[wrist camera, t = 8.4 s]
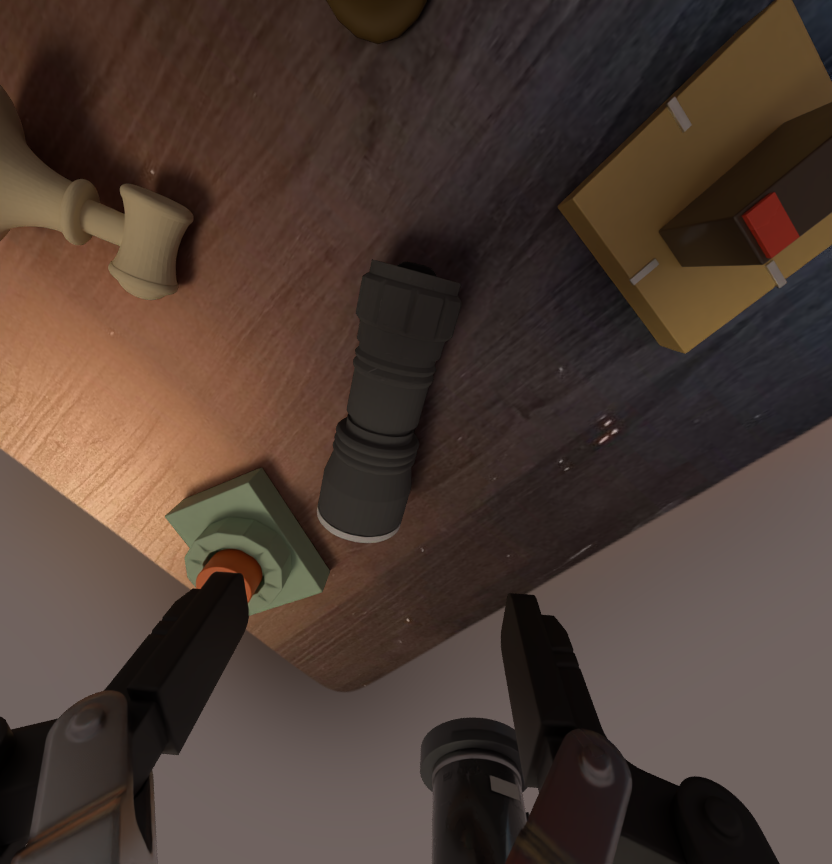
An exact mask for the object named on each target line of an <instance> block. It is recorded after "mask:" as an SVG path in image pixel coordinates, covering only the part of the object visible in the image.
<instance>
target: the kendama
mask: <svg viewBox="0 0 832 864" xmlns="http://www.w3.org/2000/svg"><path fill="white" fill-rule="evenodd" d="M326 1H327V2H328V4H329V6H330V7H331V9H332V11H333V12H334V14H335V16H336V18H337V19H338V21H340V22H341V23H342V24H343V25H344V26H345V27H346V28H347V29H348V30H350V31H351V32H352V33H353V34H354V35H355V36H356V37H358V38H361V39H364V40H367V41H370V42H373V43H376V44H380V43H383V42H386V41H389V40H392V39H395V38H398V37H400V36H401V35H402V34H403V33H404V32H405V31H406V30H407V29H408V28H409V27H410V26H411V25H412V24H413V23H414V22H415V21H417V19H418V17H419V15H420V13H421V12H422V10H423V8H424V6H425V4H426V2H427V0H326Z"/></svg>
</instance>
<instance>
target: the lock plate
mask: <svg viewBox="0 0 832 864" xmlns="http://www.w3.org/2000/svg"><path fill="white" fill-rule="evenodd" d="M830 102H832V81H831V79H830V77H829V75H828V73H827V71H826V69H825V67H824V65H823V63H822V61H821V59H820V57H819V55H818V53H817V50H816V48H815V46H814V44H813V42H812V40H811V38H810V36H809V34H808V32H807V30H806V28H805V26H804V24H803V22H802V20H801V18H800V16H799V14H798V11H797V9H796V7H795V5H794V3H793V1H792V0H775V1H773V2H772V3H771V4H770V5H768V6H767V7H766V8H765V9H763V10H762V11H761V12H760V13H758V14H757V15H756V16H755V17H753V18H752V19H751V20H750V21H749V22H747V23H746V24H745V25H744V26H742V27H741V28H740V29H739V30H738V31H737V32H736V33H735V34H734V35H733V36H732V37H731V38H730V39H729V40H728V41H727V42H726V43H725V44H724V45H723V46H722V47H721V48H720V49H718V50H717V51H716V52H715V53H714V54H713V55H712V56H711V57H710V58H709V59H708V60H707V61H706V62H705V63H704V64H703V65H702V66H701V67H700V68H699V69H698V70H697V71H696V72H695V73H694V74H693V75H692V76H691V77H690V78H689V79H688V80H687V81H686V82H685V83H684V84H683V85H681V86H680V87H679V88H678V89H677V90H676V91H675V92H674V93H673V94H672V95H671V96H670V97H669V98H668V99H667V100H666V101H665V102H664V103H663V104H662V105H661V106H660V107H659V108H658V109H657V110H656V111H655V112H654V113H653V114H652V115H651V116H650V117H649V118H648V119H647V120H646V121H644V122H643V123H642V124H641V125H640V126H639V127H638V128H637V129H636V130H635V131H634V132H633V133H632V134H631V135H630V136H629V137H628V138H627V139H626V140H625V141H624V142H623V143H622V144H621V145H620V146H619V147H618V148H617V149H616V150H615V151H614V152H613V153H612V154H611V155H610V156H609V157H607V158H606V159H605V160H604V161H603V162H602V163H601V164H600V165H599V166H598V167H597V168H596V169H595V170H594V171H593V172H592V173H591V174H590V175H589V176H588V177H587V178H586V179H585V180H584V181H583V182H582V183H581V184H580V185H579V186H578V187H577V188H576V189H575V190H574V191H573V192H572V193H571V194H569V195H568V196H567V197H566V198H565V199H564V200H563V201H562V202H561V203H560V204H559V205H558V209H559V210H560V211H561V213H562V214H563V215H564V217H565V218H566V219H567V221H568V222H569V223H570V225H571V226H572V227H573V229H574V230H575V231H576V233H577V234H578V236H579V237H580V238H581V240H582V241H583V242H584V244H585V245H586V246H587V248H588V249H589V250H590V252H591V253H592V254H593V256H594V257H595V258H596V260H597V261H598V262H599V264H600V265H601V266H602V268H603V269H604V271H605V272H606V273H607V275H608V276H609V277H610V279H611V280H612V281H613V283H614V284H615V285H616V287H617V288H618V289H619V291H620V292H621V293H622V295H623V296H624V297H625V299H626V300H627V302H628V303H629V304H630V306H631V307H632V308H633V310H634V311H635V312H636V314H637V315H638V316H639V318H640V319H641V320H642V322H643V323H644V324H645V326H646V327H647V328H648V330H649V331H650V332H651V334H652V335H653V337H654V338H655V339H656V341H657V342H658V343H659V345H660V346H663V347H666V348H669V349H672V350H675V351H678V352H681V353H687V352H688V351H690V350H691V349H692V348H694V347H695V346H696V345H698V344H699V343H700V342H702V341H703V340H704V339H706V338H707V337H708V336H710V335H711V334H712V333H714V332H715V331H716V330H718V329H719V328H720V327H722V326H723V325H725V324H726V323H727V322H729V321H730V320H731V319H733V318H734V317H735V316H737V315H738V314H739V313H741V312H742V311H743V310H745V309H746V308H747V307H749V306H750V305H751V304H753V303H754V302H755V301H757V300H758V299H759V298H761V297H762V296H763V295H765V294H766V293H767V292H769V291H770V290H771V289H773V288H774V287H775V286H777V288H781V287H782V286H783V285H785V284H786V283H787V282H786V280H785V279H786V278H788V277H789V276H790V275H792V274H793V273H794V272H796V271H797V270H798V269H800V268H801V267H802V266H804V265H805V264H806V263H808V262H809V261H810V260H812V259H813V258H814V257H816V256H817V255H818V254H820V253H821V252H822V251H824V250H825V249H826V248H828V247H829V246H830V245H832V213H831V214H829V215H828V216H827V217H825V218H824V219H823V220H821V221H820V222H819V223H817V224H816V225H815V226H814V227H812V228H811V229H810V230H808V231H807V232H806V233H804V234H803V235H802V236H800V237H799V238H798V239H797V240H795V241H794V242H793V243H791V244H790V245H789V246H787V247H786V248H785V249H783V250H782V251H781V252H780V253H778V254H777V255H776V256H774V257H773V258H772V259H770V260H769V261H768V262H766V263H765V264H764V265H748V266H706V267H682V266H681V265H680V263H679V262H678V260H677V259H676V257H675V256H674V254H673V253H672V251H671V250H670V248H669V247H668V245H667V244H666V242H665V241H664V239H663V238H662V236H661V235H660V234H659V230H660V229H661V228H662V227H663V226H665V225H666V224H667V223H668V222H669V221H670V220H672V219H673V218H674V217H675V216H676V215H677V214H679V213H680V212H681V211H682V210H683V209H684V208H686V207H687V206H688V205H689V204H690V203H691V202H692V201H694V200H695V199H696V198H697V197H698V196H699V195H701V194H702V193H703V192H704V191H705V190H706V189H708V188H709V187H710V186H711V185H712V184H713V183H715V182H716V181H717V180H718V179H719V178H720V177H722V176H723V175H724V174H725V173H726V172H727V171H729V170H730V169H731V168H732V167H733V166H734V165H735V164H737V163H738V162H739V161H740V160H741V159H742V158H744V157H745V156H746V155H747V154H748V153H749V152H751V151H752V150H753V149H754V148H755V147H756V146H758V145H759V144H760V143H761V142H762V141H763V140H765V139H766V138H767V137H768V136H769V135H770V134H771V133H773V132H774V131H775V130H776V129H777V128H778V127H780V126H781V125H782V124H783V123H784V122H787V121H789V120H791V119H793V118H796V117H798V116H800V115H803V114H805V113H807V112H810V111H812V110H814V109H817V108H819V107H821V106H823V105H826V104H828V103H830Z"/></svg>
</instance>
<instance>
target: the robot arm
mask: <svg viewBox="0 0 832 864" xmlns="http://www.w3.org/2000/svg"><path fill="white" fill-rule="evenodd" d="M248 618H249V607H248V601H247V595H246V589H245V582H244V577H243V575H242V574H241V573H232V572H218V571H216V572H214V573H213V574H211V576H210V577H209V578H208V580H207V581H206V582H205V584H204V585H203V586H202V588H201V589H194V588H193V589H192V590H190V591H189V592H188V593H186V594H185V595H184V596H182V597H181V598H180V599H178V600H177V601H176V602H175V603H174V604H173V605H172V606H171V608H170V609H169V610H168V611H167V613H166V614H165V615H164V616H163V619H162V621H159V623H158V624H157V625H156V626H155V628H154V629H153V630H152V633H151V634H149V635H148V636H147V638H146V639H145V640H144V642H143V643H142V644H141V645H140V647H139V648H138V649H137V650H136V652H135V653H134V654H133V655H132V657H131V658H130V659H129V660H128V661H127V663H126V664H125V665H124V666H123V668H122V669H121V670H120V671H119V673H118V674H117V675H116V676H115V678H114V679H113V680H112V682H111V683H110V684H109V685H108V686H107V688H106V689H105V690H104V691H102V692H98V693H95V694H92V695H90V696H88V697H86V698H84V699H82V700H80V701H78V702H77V703H75V704H74V705H73V706H71V707H70V708H69V709H68V710H66V711H65V712H64V713H63V714H62V715H61V716H60V717H59V718H58V719H54V720H50V721H46V722H41V723H37V724H33V725H29V726H25V727H20V728H16V729H12V730H11V729H10V727H9V725H8V724H7V722H6V720H5V719H3V718H2V717H0V864H158V859H157V841H156V821H155V802H154V782H153V772H152V769H153V767H154V766H155V763H156V762H157V760H158V759H159V757H160V755H161V754H172V755H179V753H180V751H181V749H182V747H183V746H184V743H185V742H186V740H187V738H188V736H189V734H190V732H191V731H192V729H193V726H194V725H195V723H196V721H197V719H198V718H199V716H200V714H201V712H202V710H203V708H204V706H205V705H206V703H207V701H208V699H209V697H210V695H211V693H212V691H213V690H214V688H215V686H216V684H217V682H218V680H219V679H220V677H221V675H222V673H223V671H224V669H225V667H226V665H227V663H228V662H229V660H230V658H231V656H232V654H233V653H234V651H235V649H236V647H237V645H238V643H239V641H240V640H241V638H242V635H243V634H244V632H245V629H246V627H247V623H248ZM501 650H502V657H503V663H504V668H505V675H506V680H507V686H508V692H509V698H510V704H511V709H512V715H513V721H514V727H515V733H516V738H517V744H518V750H519V756H520V762H521V768H522V773H523V779H524V785H525V787H534V788H535V787H536V788H538V790H539V795H538V797H537V799H536V802H535V804H534V806H533V809H532V811H531V813H530V815H529V813H528V812H527V813H526V812H525V806H524V800H523V794H522V781H521V775H520V770H519V768H518V766H517V765H516V764H515V762H513V761H512V760H511V759H510V758H508V757H507V756H505V755H503V754H501V753H498V752H495V751H492V750H487V749H477V748H471V749H462V750H457V751H454V752H451V753H448V754H446V755H444V756H443V757H441V758H440V759H439V760H438V761H437V762H436V763H435V765H434V766H433V769H432V787H433V817H432V864H779V862H778V860H777V858H776V856H775V855H774V853H773V851H772V849H771V847H770V845H769V843H768V842H767V840H766V838H765V836H764V834H763V832H762V830H761V829H760V827H759V825H758V823H757V822H756V820H755V818H754V817H753V816H752V814H751V813H750V812H749V810H748V809H747V808H746V807H745V806H744V804H743V803H742V802H741V801H740V800H739V799H738V798H736V796H734V795H733V794H732V793H731V792H730V791H728V790H727V789H726V788H724V787H723V786H721V785H720V784H718V783H716V782H714V781H712V780H709V779H707V778H702V777H695V776H694V777H689V778H686V779H685V780H684V781H682V782H681V784H680V786H678V785H675V784H673V783H671V782H668V781H666V780H664V779H661V778H659V777H656V776H654V775H652V774H650V773H647V772H645V771H643V770H641V769H639V768H637V767H636V766H634V765H633V764H631V763H630V762H628V761H627V760H626V759H625V758H624V757H623V756H622V754H621V753H620V751H619V750H618V749H617V748H616V747H615V745H614V744H612V743H611V742H610V741H609V740H608V739H607V737H606V736H605V734H604V732H603V729H602V727H601V725H600V722H599V719H598V716H597V713H596V711H595V708H594V705H593V702H592V700H591V697H590V694H589V692H588V689H587V686H586V683H585V680H584V678H583V675H582V672H581V670H580V669H579V664H578V661H577V658H576V656H575V654H574V653H573V648H572V645H571V642H570V639H569V637H568V634H567V632H566V630H565V629H564V628H563V626H562V625H561V624H560V623H559V622H558V620H557V619H556V618H555V617H554V616H550V615H541V612H540V609H539V605H538V602H537V599H536V597H535V596H534V595H527V594H513V593H509V594H508V596H507V601H506V607H505V612H504V618H503V624H502V630H501ZM26 844H27V845H26Z"/></svg>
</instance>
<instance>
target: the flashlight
mask: <svg viewBox="0 0 832 864" xmlns="http://www.w3.org/2000/svg"><path fill="white" fill-rule="evenodd" d="M460 285H461V284H460V283H456V282H453V281H449V280H446V279H442V278H438V277H437V276H436V274H435V272H434V271H433V270H432V269H431V268H429V267H426V266H424V265H420V264H416V263H412V262H402V263H400V264H399V265H397V266H395V265H391V264H388V263H384V262H380V261H377V260H373V259H372V262H371V267H370V272H368V273H366V274H365V275H363V277H362V282H361V288H360V293H359V298H358V304H357V309H356V314H357V316H358V317H359V319H360V324H359V330H358V335H357V339H358V340H359V341H360V344H359V346H358V347H357V348H356V349H355V352H356V355H357V356H356V357H355V358H354V359H353V365H354V367H355V369H354V374H353V379H352V385H351V390H350V395H349V400H348V405H347V412H348V416H347V417H346V418H344V419H343V420H341V421H340V422H339V423H338V425H337V426H336V433H335V437H334V438H335V440H334V442H333V448H334V450H333V452H332V455H331V457H330V459H329V461H328V463H327V465H326V467H325V469H324V475H323V480H322V486H321V491H320V497H319V502H318V507H317V516H318V519H319V521H320V522H321V524H322V525H323V526H324V527H325V528H326V529H327V530H328V531H330V532H331V533H333V534H334V535H336V536H338V537H340V538H343V539H346V540H349V541H354V542H360V543H374V542H380V541H384V540H386V539H389V538H390V537H392V536H393V535H394V534H396V533H397V531H398V530H399V527H400V524H401V521H402V517H403V514H404V510H405V507H406V503H407V500H408V497H409V493H410V490H411V467H412V466H413V464H414V462H415V457H416V455H417V449H418V448H419V441H418V438H417V436H416V435H415V434H414V429H415V428H416V427H417V426H418V423H419V420H420V416H421V413H422V409H423V405H424V402H425V398H426V394H427V391H428V387H429V386H430V385H431V384H432V382H433V374H434V373H435V371H436V367H435V362H436V360H439V359H440V357H441V353H442V350H443V346H444V343H445V341H447V340H449V339H451V338H452V336H453V332H454V329H455V325H456V322H457V318H458V315H459V311H460V308H461V304H462V302H461V301H460V299H459V297H458V293H459V289H460Z"/></svg>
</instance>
